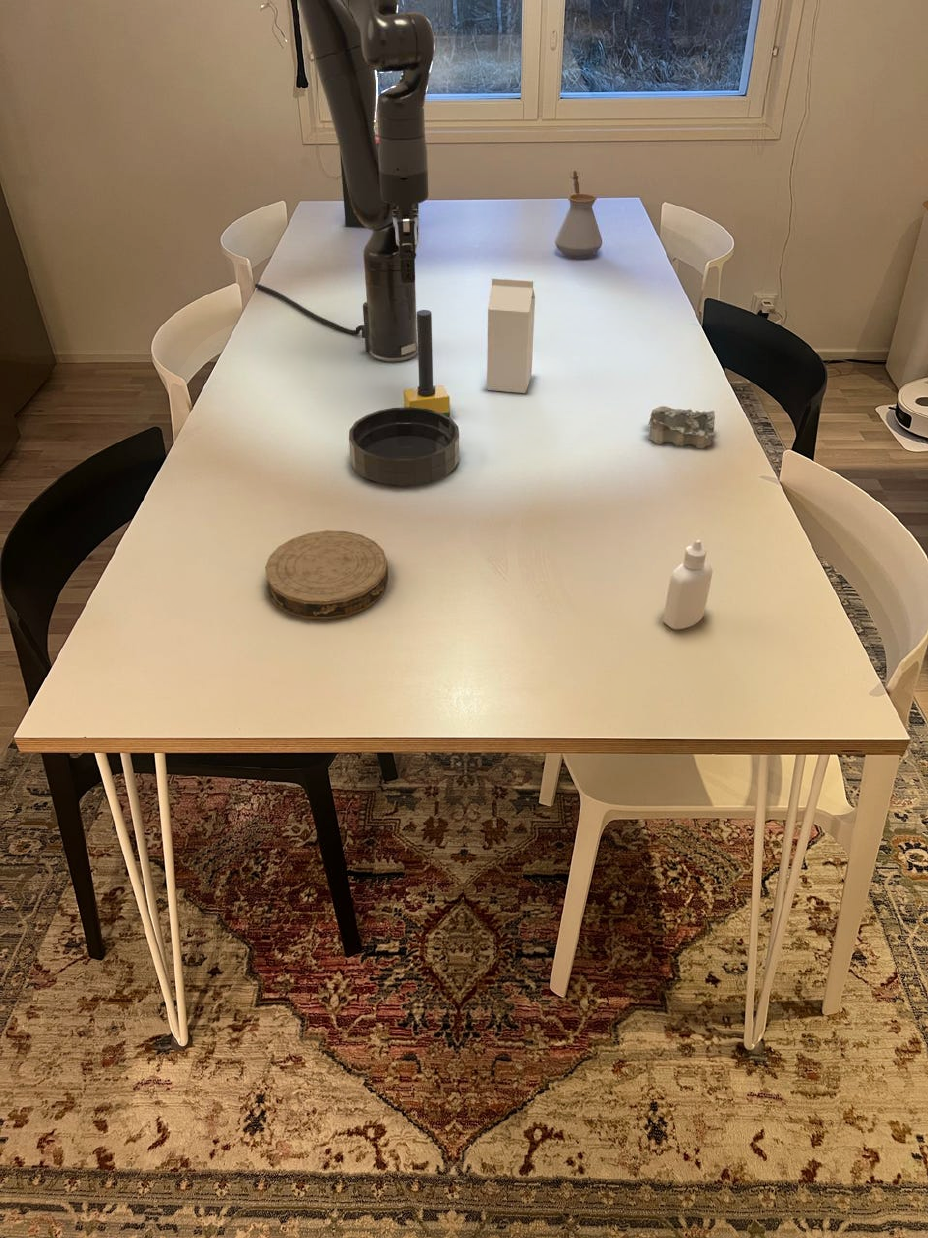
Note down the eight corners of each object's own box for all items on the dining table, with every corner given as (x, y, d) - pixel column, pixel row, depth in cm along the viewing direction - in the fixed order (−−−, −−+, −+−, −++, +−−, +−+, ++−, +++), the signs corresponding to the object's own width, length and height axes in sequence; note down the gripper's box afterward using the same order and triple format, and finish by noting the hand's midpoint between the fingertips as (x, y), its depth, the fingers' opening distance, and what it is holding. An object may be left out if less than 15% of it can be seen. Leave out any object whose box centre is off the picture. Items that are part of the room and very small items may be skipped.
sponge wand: (410, 422, 161) (405, 319, 149) (404, 411, 164) (399, 309, 153) (449, 417, 162) (448, 315, 151) (443, 406, 165) (441, 305, 154)
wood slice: (286, 632, 118) (283, 613, 116) (255, 564, 129) (252, 546, 127) (405, 601, 122) (404, 582, 121) (365, 537, 134) (364, 520, 132)
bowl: (329, 469, 149) (326, 440, 146) (393, 425, 160) (391, 398, 157) (419, 500, 142) (418, 471, 138) (479, 452, 153) (479, 424, 150)
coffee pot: (604, 261, 224) (610, 194, 214) (556, 261, 223) (560, 194, 214) (593, 232, 240) (598, 169, 231) (548, 233, 240) (551, 169, 230)
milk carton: (525, 394, 169) (530, 288, 157) (486, 390, 170) (488, 285, 158) (531, 377, 174) (536, 274, 162) (493, 374, 176) (495, 271, 164)
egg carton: (644, 443, 155) (647, 420, 152) (650, 422, 161) (652, 400, 158) (710, 451, 153) (714, 428, 150) (713, 429, 158) (717, 407, 156)
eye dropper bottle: (657, 609, 121) (669, 532, 113) (699, 607, 121) (715, 529, 114) (666, 631, 118) (680, 552, 110) (709, 628, 118) (726, 550, 110)
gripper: (378, 155, 150) (384, 259, 160) (379, 179, 139) (385, 289, 149) (425, 154, 151) (428, 257, 161) (429, 178, 140) (432, 287, 150)
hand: (407, 272), depth 155 cm, fingers open, 8 cm apart
